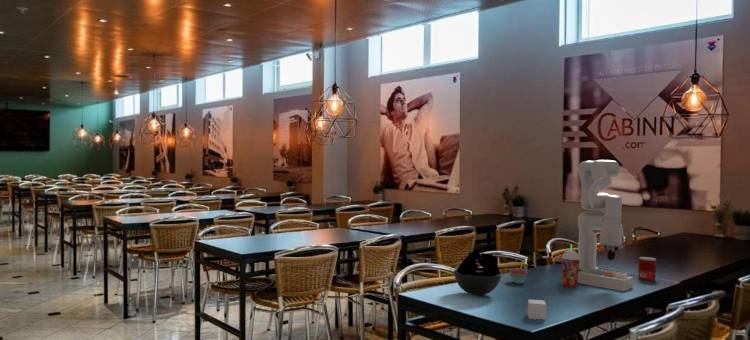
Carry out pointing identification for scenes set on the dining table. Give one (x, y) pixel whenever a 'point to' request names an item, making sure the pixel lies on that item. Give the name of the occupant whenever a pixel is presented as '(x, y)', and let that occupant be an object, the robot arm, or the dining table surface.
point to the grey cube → (536, 309)
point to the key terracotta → (609, 273)
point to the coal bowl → (478, 273)
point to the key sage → (588, 270)
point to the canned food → (647, 268)
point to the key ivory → (621, 275)
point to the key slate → (598, 271)
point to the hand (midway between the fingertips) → (611, 259)
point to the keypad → (605, 281)
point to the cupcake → (518, 274)
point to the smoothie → (570, 268)
